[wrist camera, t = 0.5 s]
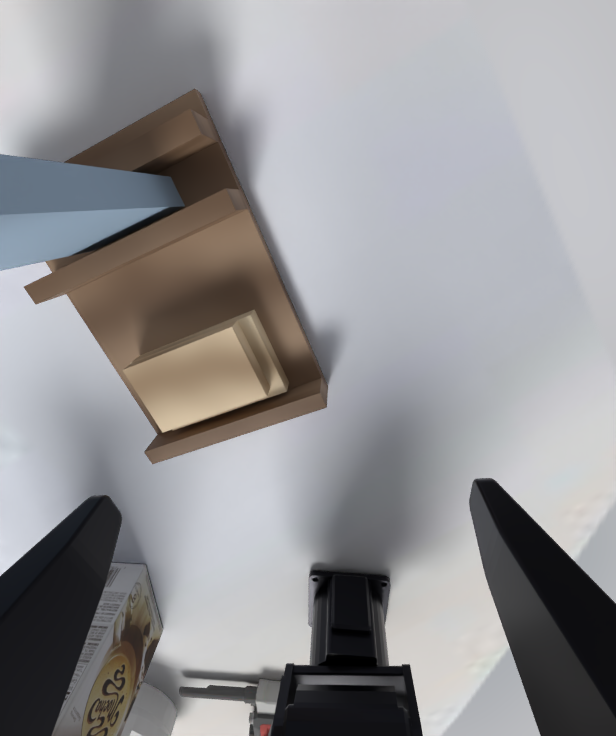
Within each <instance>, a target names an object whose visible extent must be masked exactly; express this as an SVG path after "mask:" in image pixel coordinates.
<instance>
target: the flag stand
mask: <svg viewBox="0 0 616 736" xmlns="http://www.w3.org/2000/svg"><path fill="white" fill-rule="evenodd" d="M176 717H177V710H176V708H175V705H174V704H173V702H172V701H171V699H170V698H169V697H168V696H166V695H165V694H164V693H163V692H161V691H160V690H158V689H157V688H155V687H153V686H151V685H149V684H147V683H145V682H142V685H141V687H140V690H139V692H138V695H137V697H136V700H135V702H134V704H133V706H132V709H131V711H130V714H129V716H128V719H127V721H126V724H125V726H124V729H123V731H122V734H121V736H171V733H172V730H173V727H174V724H175V721H176Z"/></svg>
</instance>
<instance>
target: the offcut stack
mask: <svg viewBox="0 0 616 736" xmlns="http://www.w3.org/2000/svg"><path fill="white" fill-rule="evenodd" d="M123 372H124V374H125V375H126V377H127V378H128V380H129V381H130V383H131V384H132V386H133V388H134V389H135V391H136V392H137V394H138V395H139V397H140V398H141V400H142V402H143V403H144V405H145V406H146V408H147V409H148V411H149V412H150V414H151V415H152V417H153V419H154V420H155V422H156V423H157V425H158V426H159V428H160V429H161V431H162V433H163V432H166V431H169V430H176V429H179V428H182V427H185V426H188V425H191V424H194V423H197V422H200V421H203V420H205V419H208V418H211V417H214V416H217V415H220V414H223V413H226V412H229V411H232V410H235V409H237V408H240V407H243V406H246V405H249V404H252V403H255V402H258V401H261V400H264V399H267V398H269V397H272V396H275V395H278V394H281V393H284V392H287V389H288V386H289V381H288V379H287V377H286V375H285V373H284V370H283V368H282V366H281V364H280V362H279V360H278V358H277V356H276V354H275V352H274V349H273V347H272V345H271V343H270V341H269V339H268V337H267V335H266V333H265V330H264V328H263V326H262V324H261V322H260V320H259V318H258V316H257V314H256V312H255V309H254V310H252V311H249V312H247V313H244V314H242V315H239V316H237V317H234V318H232V319H229V320H227V321H224V322H222V323H219V324H217V325H214V326H212V327H209V328H207V329H204V330H202V331H200V332H197V333H195V334H192V335H190V336H187V337H185V338H182V339H180V340H177V341H175V342H172V343H170V344H167V345H165V346H162V347H160V348H157V349H155V350H152V351H150V352H147V353H145V354H142V355H140V356H138V357H137V358H136V359H135V360H133V361H132V362H131V363H130V365H128V366H127V367H126V368H125V369H123Z"/></svg>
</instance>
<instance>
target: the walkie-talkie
mask: <svg viewBox="0 0 616 736" xmlns="http://www.w3.org/2000/svg"><path fill="white" fill-rule="evenodd" d="M280 682H281V681H272V680H267V679H259V684H258V687H256V686H247V687H246V688H242V687H229V686H215V685H209V686H208V687H207V688H194V687H180V689H179V694H180V695H181V696H182V697H193V698H206V699H220V700H233V701H244V702H245V703H249V704H251V706H254V707H255V712H254V713H250V716H249V724H250V731H249V736H268V733H269V730H270V727H271V724H272V721H273V718H274V714H275V709H276V704H277V699H278V694H279V689H280Z"/></svg>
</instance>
